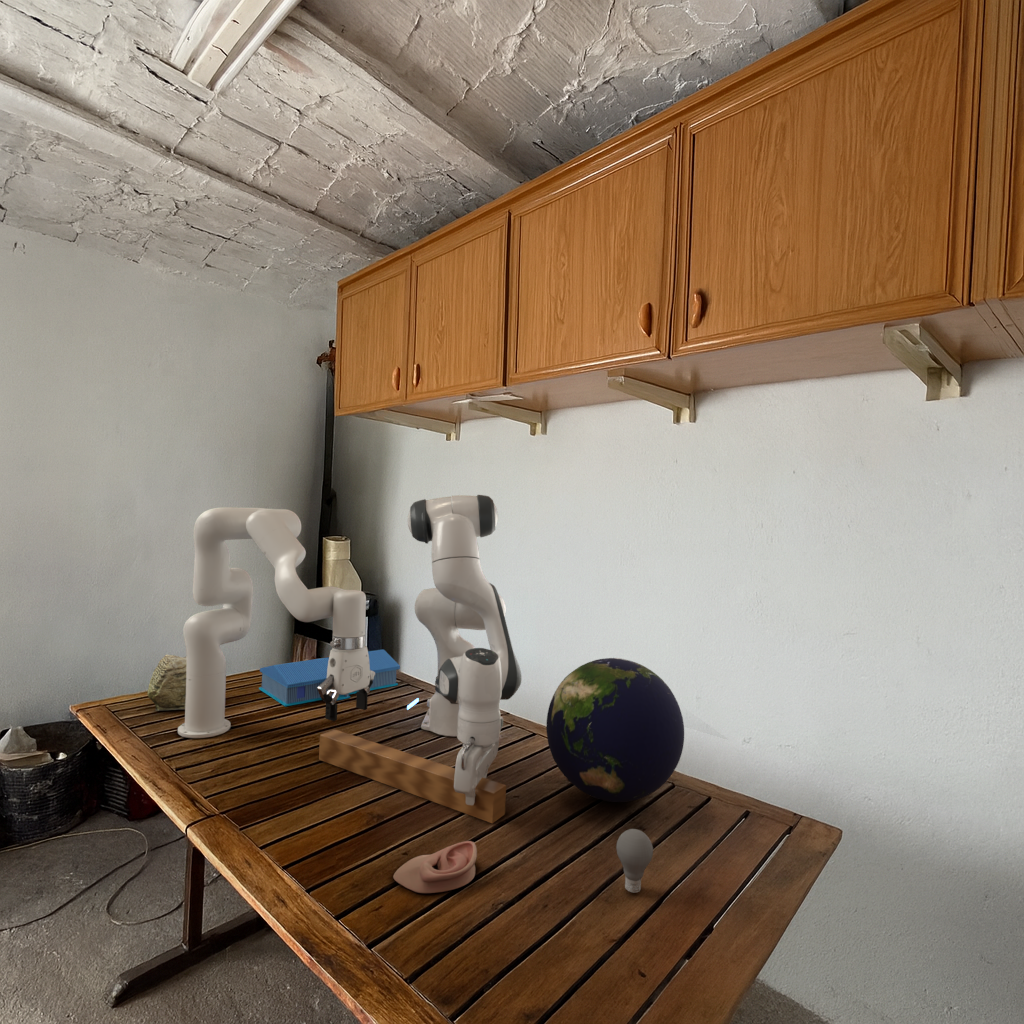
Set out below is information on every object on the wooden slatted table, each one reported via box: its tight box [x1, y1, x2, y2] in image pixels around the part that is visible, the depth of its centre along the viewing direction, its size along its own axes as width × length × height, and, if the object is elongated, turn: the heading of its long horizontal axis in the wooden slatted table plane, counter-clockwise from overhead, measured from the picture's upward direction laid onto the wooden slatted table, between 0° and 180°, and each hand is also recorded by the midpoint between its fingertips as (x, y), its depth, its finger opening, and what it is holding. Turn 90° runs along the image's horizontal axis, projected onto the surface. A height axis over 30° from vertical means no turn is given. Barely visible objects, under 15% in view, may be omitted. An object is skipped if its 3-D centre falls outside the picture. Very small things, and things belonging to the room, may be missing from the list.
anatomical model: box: [392, 840, 478, 894], centre depth 108 cm, size 13×4×12 cm
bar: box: [318, 729, 507, 824], centre depth 141 cm, size 50×5×6 cm, turn 58°
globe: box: [545, 657, 685, 803], centre depth 140 cm, size 30×30×30 cm
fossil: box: [147, 654, 187, 712], centre depth 185 cm, size 9×18×15 cm, turn 132°
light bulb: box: [615, 828, 654, 894], centre depth 106 cm, size 6×6×10 cm
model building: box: [258, 649, 401, 707], centre depth 208 cm, size 39×24×10 cm, turn 132°
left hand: (346, 714), depth 151 cm, fingers open, 9 cm apart
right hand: (475, 795), depth 131 cm, fingers closed on bar, 5 cm apart
